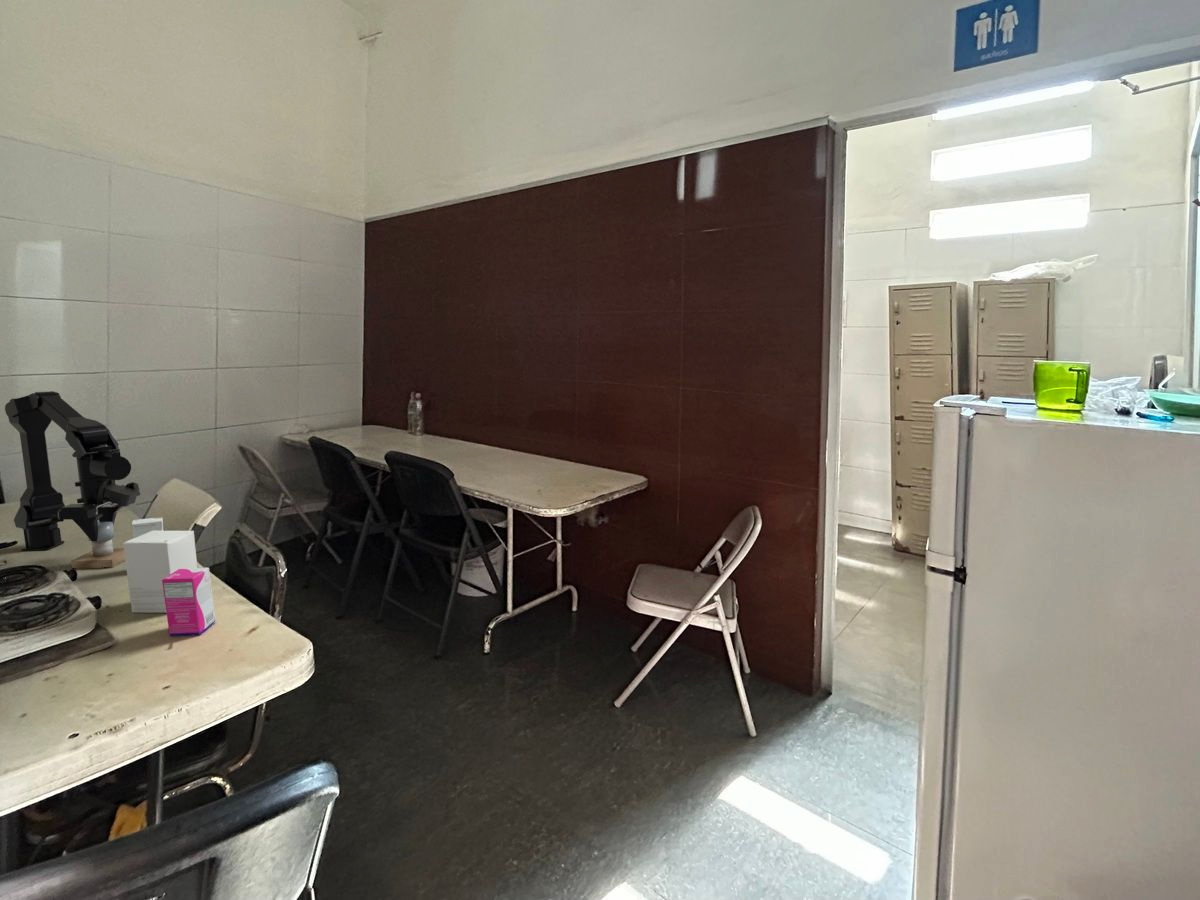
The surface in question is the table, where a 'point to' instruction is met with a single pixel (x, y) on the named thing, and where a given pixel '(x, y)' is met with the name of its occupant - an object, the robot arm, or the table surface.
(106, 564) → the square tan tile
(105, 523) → the smooth rounded gray lump
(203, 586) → the supplement box
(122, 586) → the table surface
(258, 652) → the table surface
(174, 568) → the supplement box
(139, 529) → the skincare box
